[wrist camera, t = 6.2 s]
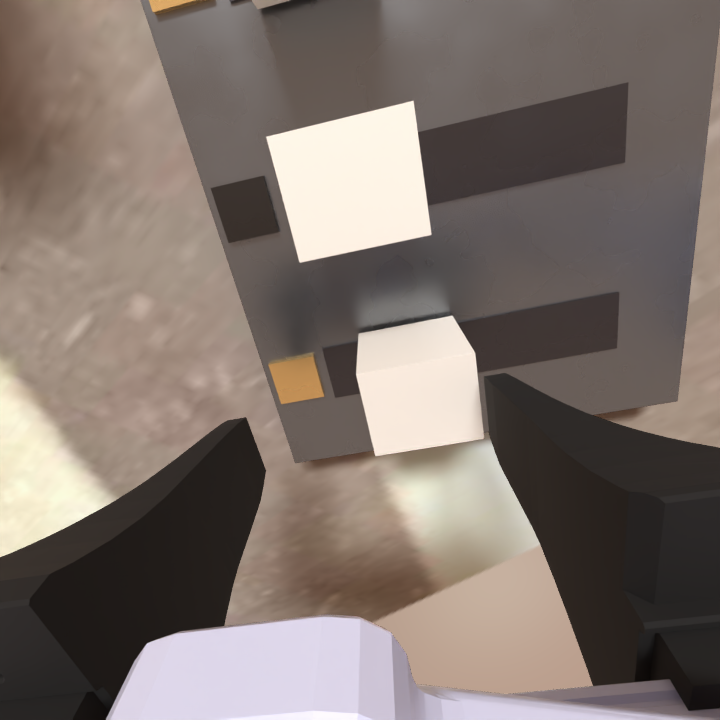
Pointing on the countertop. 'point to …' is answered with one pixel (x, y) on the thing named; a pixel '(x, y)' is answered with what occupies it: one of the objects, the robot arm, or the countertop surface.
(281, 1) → the switch
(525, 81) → the console
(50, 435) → the countertop surface
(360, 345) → the switch
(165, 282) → the countertop surface
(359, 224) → the switch
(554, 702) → the robot arm
